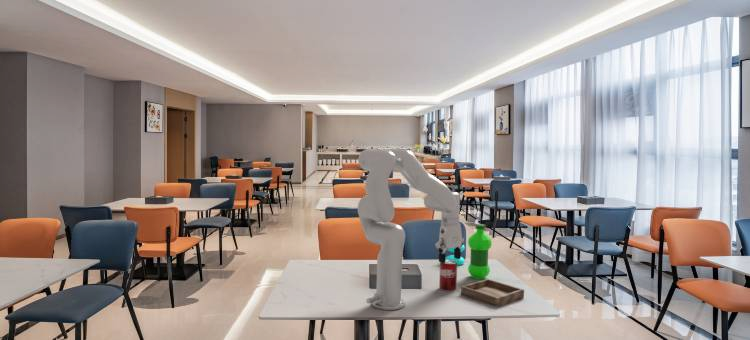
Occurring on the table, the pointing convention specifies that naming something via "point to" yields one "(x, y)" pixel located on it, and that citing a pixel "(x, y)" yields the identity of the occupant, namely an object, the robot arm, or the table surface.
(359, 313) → the table surface
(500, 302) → the walnut tray
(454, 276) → the soda can
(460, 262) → the donuts
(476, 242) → the plastic bottle
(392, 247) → the robot arm
